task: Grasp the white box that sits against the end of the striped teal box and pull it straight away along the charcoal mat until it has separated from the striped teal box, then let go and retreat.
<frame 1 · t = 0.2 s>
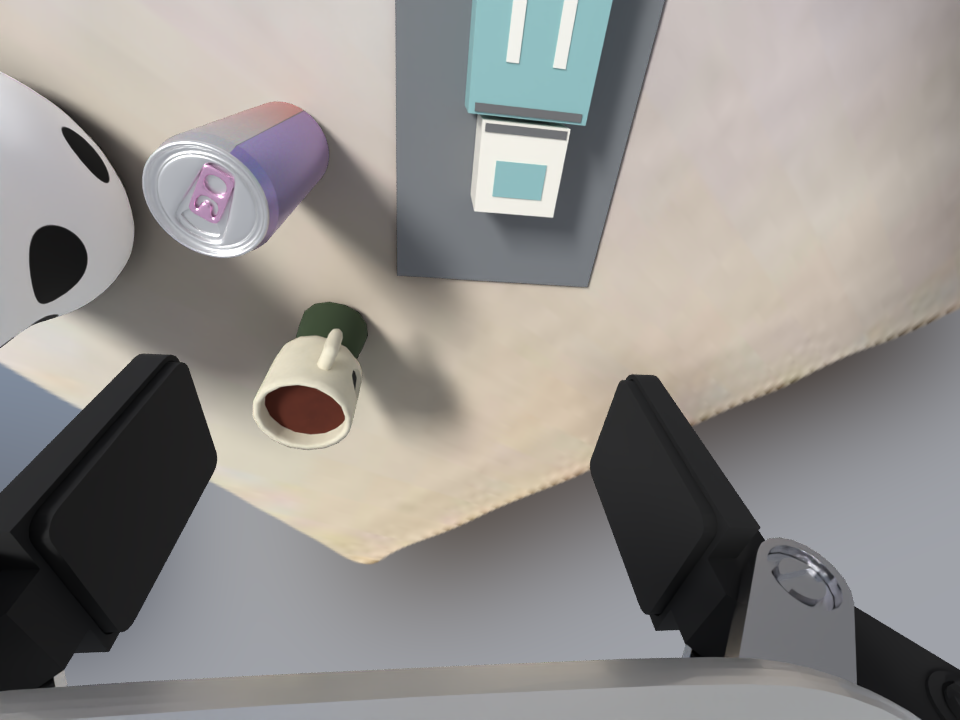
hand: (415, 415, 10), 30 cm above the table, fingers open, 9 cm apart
milk container: (27, 181, 34), on the table
white box: (515, 165, 33), point 3 cm above the table, slide at 0.0 cm
striped teal box: (531, 9, 29), resting on mat
character mug: (336, 325, 43), on the table
beverage can: (291, 145, 33), on the table
mat: (518, 102, 33), on the table
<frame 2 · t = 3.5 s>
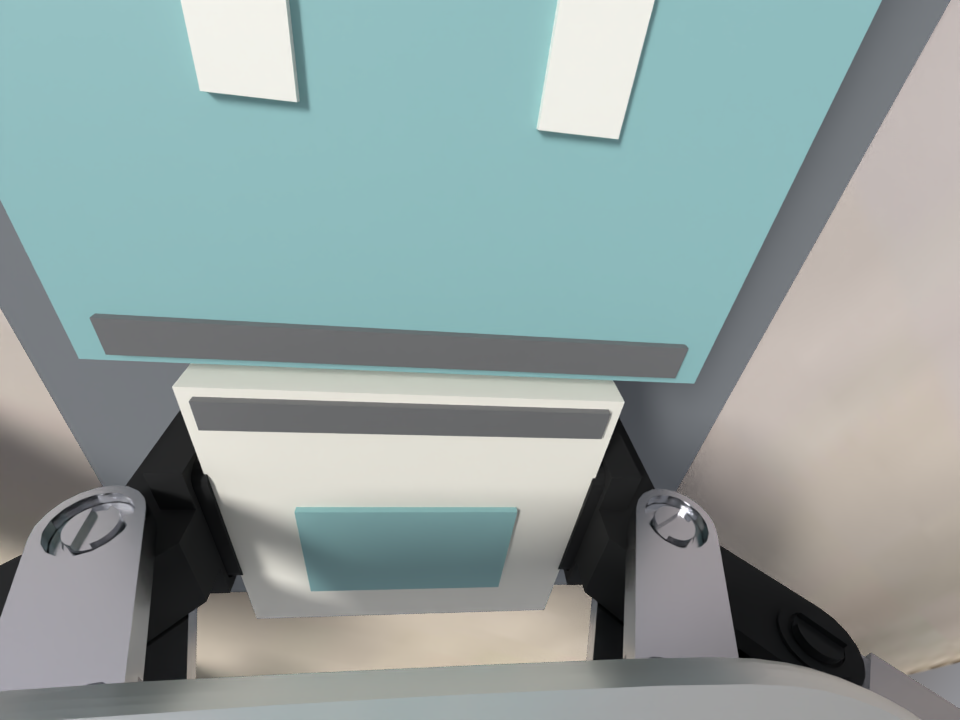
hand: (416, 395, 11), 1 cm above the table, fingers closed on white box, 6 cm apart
white box: (414, 437, 9), point 3 cm above the table, slide at 0.0 cm, touching gripper
mat: (424, 219, 10), on the table
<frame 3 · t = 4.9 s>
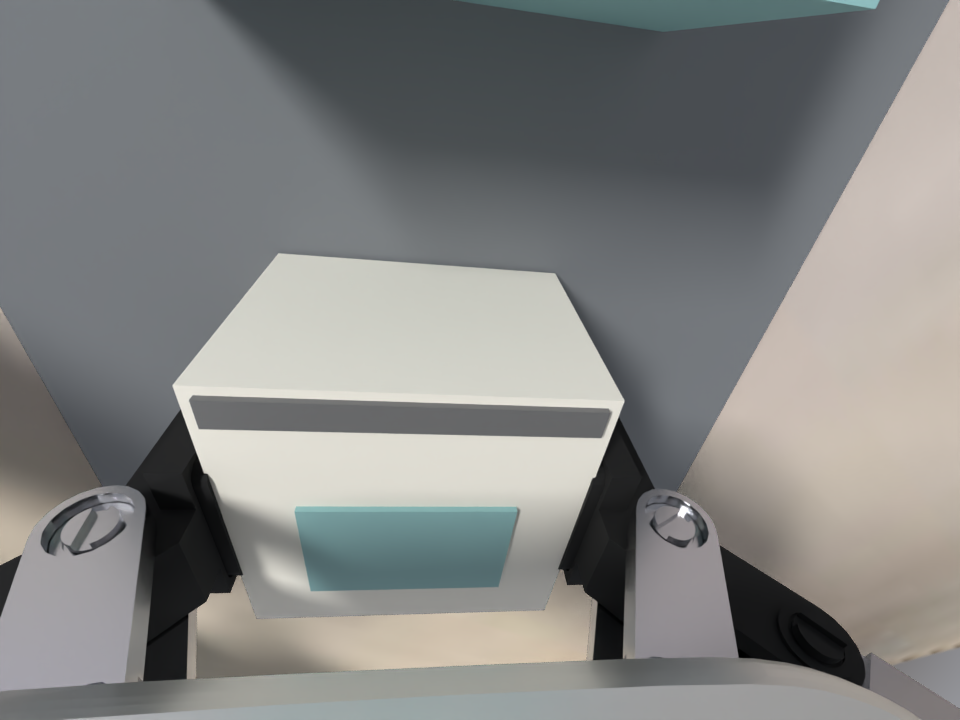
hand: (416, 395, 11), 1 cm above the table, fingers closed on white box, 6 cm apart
white box: (414, 437, 9), point 3 cm above the table, slide at 4.3 cm, touching gripper
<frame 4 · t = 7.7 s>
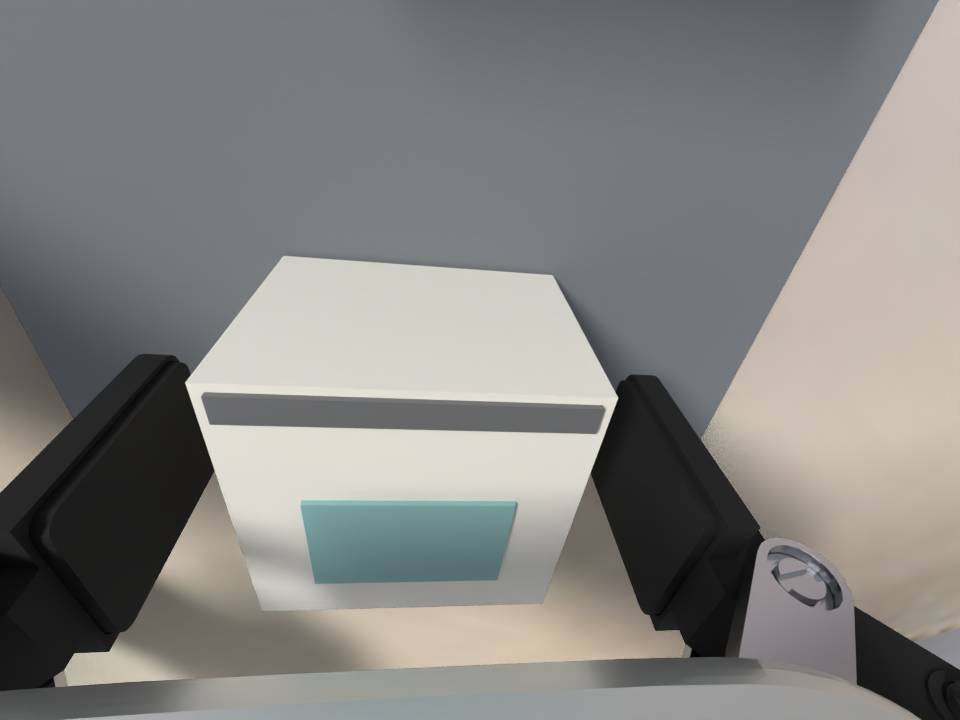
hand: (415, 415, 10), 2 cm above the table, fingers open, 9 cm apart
white box: (415, 435, 10), point 3 cm above the table, slide at 7.9 cm
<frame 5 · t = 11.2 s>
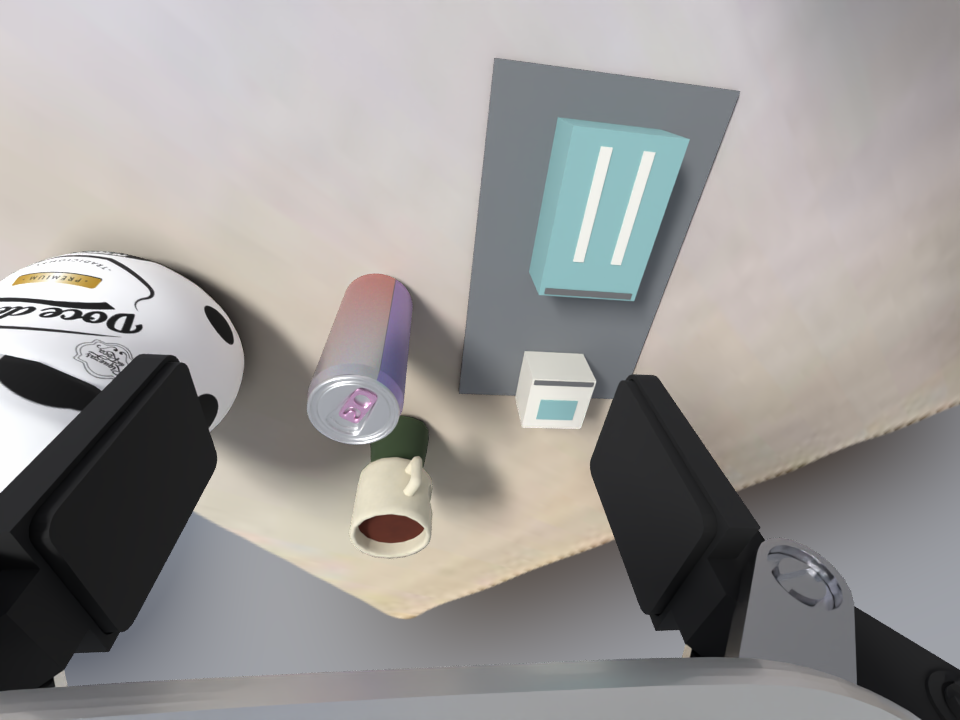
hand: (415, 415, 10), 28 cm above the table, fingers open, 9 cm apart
milk container: (154, 329, 39), on the table
white box: (552, 390, 43), point 3 cm above the table, slide at 7.9 cm
striped teal box: (589, 206, 36), resting on mat
character mug: (400, 429, 49), on the table
beverage can: (379, 300, 39), on the table
mat: (573, 267, 39), on the table
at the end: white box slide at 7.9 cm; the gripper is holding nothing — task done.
